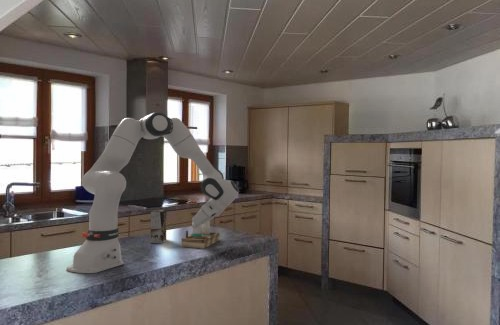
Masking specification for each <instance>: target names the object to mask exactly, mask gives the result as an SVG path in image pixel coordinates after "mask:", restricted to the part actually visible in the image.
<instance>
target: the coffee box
mask: <svg viewBox="0 0 500 325" xmlns="http://www.w3.org/2000/svg"><path fill="white" fill-rule="evenodd" d="M166 240H167V209H154V210H152V211H150V243H151V244H163V243H164V242H165V241H166Z"/></svg>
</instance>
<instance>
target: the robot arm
mask: <svg viewBox="0 0 500 325" xmlns="http://www.w3.org/2000/svg"><path fill="white" fill-rule="evenodd" d="M160 137H163V138H164V139H165V140H166V141H167V142H168V143H169V145H170V147H171V148H172V149H173V151H174V152H175V153H176V155H177V156H179V158H182V159H189V160H191V161H192V162H193V163H194V164H195V165H196V166H197V168H198V169H199V170H200V172H201V173H202V181H201V184H200V189H201V192H202V193H203V194H204V195H205V196H206V197H208V198H210V199H208V201H206V202H205V203H204V204H203V205H201V207H200V209H199V210H198V211H197V212H196V213H195V215H194V216H193V217H192V218H193V219H191V223H192V222H193V223H194V224H193V225H191V227H193V228H196V227H197V226H198V225H199V224H203V223H205V222H207V221H209V220H210V221H212V220H213V219H214V218H215V217H216V218H217V217H219V216H220V215H221V214H222V213H223V212H224V211H225V210H226V208H227V207H228V206H229V205H231V204H232V203H233V202H234V201H235V199H236V198H238V196H239V193H240V189H239V186H238V185H237V183H236V182H235V181H234V180H232V179H231V180H228V179H225V177H224V174H223V173H222V171H221V170H219V169H218V168H217V167H215V166H214V165H213V164H212V163H211V161H210V160H209V159H208V158H207V156H206V155H205V153H204V152H203V151H202V150H201V148H200V146H199V144H198V142H197V140H196V138H195V137H194V135H193V133H192V132H191V131H190V130H189V128H188V127H187V126H186V125H185V124H184V122H183V121H181V120H180V119H179V118H178V117H171V118H170V117H169V116H167V115H166V114H164V113H162V112H156V111H155V112H151V113H149V114H147V115H145V116H144V117H142V118H140V119H138V120H137V119H135V118H133V117H125V118H123V119H122V120H121V121H120V122H119V123H118V125H117V126H116V128H115V129H114V131H113V133H112V135H111V136H110V138H109V140H108V142H107V145H106V146H105V148H104V150H103V152H102V153H101V155H100V156H99V157H98V159H96V161H95V163H93V165H92V167H90V169H89V170H88V171H86V173H85V174H84V175H83V176H82V179H81V184H82V187H83V188H84V190H85V191H86V192H88V193H90V194H92V195H94V196H93V197H94V198H93V202H92V205H91V207H90V208H89V211H88V212H89V213H88V215H89V218H88V223H89V226H88V229H87V232H84V231H82V233H81V237H82V238H85V241H84V242H83V243H82V245H81V246H80V247H79V248H78V249H77V250H76V252H74V255H73V260H72V262H73V263H72V264H71V265H69V266H67V267H66V271H68V272H70V273H77V274H96V273H100V272H103V271H105V270H106V271H107V270H109V269H112V268H116V267H119V266H122V265H124V261H123V260H122V251H121V250H122V249H121V244H120V242H119V238H118V237H119V233H120V232H119V227H118V215H119V214H118V211H119V205H120V201H121V197H122V194H123V192H125V190H126V188H127V179H126V177H125V176H124V175H123V174H122V173H121V172H120V171H122V170H123V168H124V167H125V166H127V165H128V164H129V163H130V161H131V157H132V156H133V154H134V152H135V150H136V147H137V145H138V143H139V142H140V140H145V141H151V140H156V139H159V138H160Z"/></svg>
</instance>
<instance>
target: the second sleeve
mask: <svg viewBox="0 0 500 325" xmlns="http://www.w3.org/2000/svg"><path fill="white" fill-rule="evenodd" d="M210 232H211V220H209V221H207V222H205V223H203V224H202V235H210Z"/></svg>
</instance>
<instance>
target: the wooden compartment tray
mask: <svg viewBox="0 0 500 325" xmlns="http://www.w3.org/2000/svg"><path fill="white" fill-rule="evenodd" d="M220 234H221V233H220V232H215V231H214V232H213V231H210V235H202V236H201V237H192V233H191V234H189V231H188V230H186V231H185V237H182V238H181V248H182V247H183V248H192V249H193V248H194V249H202V250H203V249H205V248H208V247H210V246H211V245H213V244H215V243H217V242H219V241H220Z"/></svg>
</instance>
